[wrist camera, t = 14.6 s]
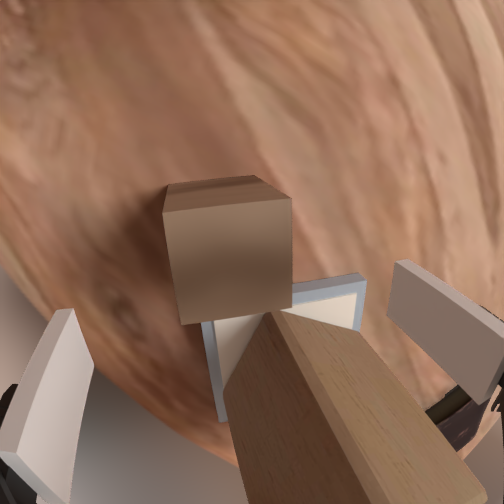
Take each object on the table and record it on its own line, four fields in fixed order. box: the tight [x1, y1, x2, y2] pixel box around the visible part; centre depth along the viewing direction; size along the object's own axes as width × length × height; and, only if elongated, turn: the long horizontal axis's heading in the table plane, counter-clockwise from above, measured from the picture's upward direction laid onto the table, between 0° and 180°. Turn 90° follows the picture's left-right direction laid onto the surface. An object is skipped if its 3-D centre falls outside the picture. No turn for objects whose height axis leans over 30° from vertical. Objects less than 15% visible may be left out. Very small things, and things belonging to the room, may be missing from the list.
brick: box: [162, 175, 292, 325], centre depth 19 cm, size 6×6×8 cm
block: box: [223, 310, 487, 504], centre depth 18 cm, size 10×10×20 cm
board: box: [201, 273, 367, 423], centre depth 28 cm, size 14×14×2 cm
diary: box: [425, 385, 491, 452], centre depth 45 cm, size 19×25×5 cm
